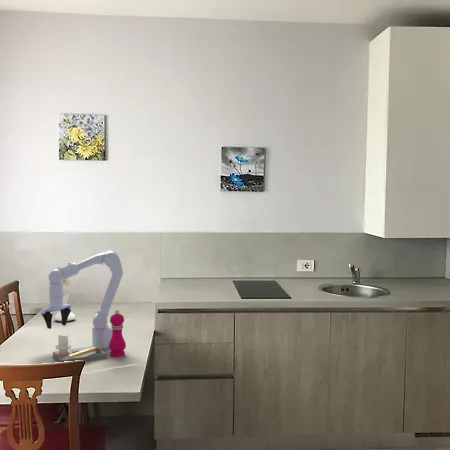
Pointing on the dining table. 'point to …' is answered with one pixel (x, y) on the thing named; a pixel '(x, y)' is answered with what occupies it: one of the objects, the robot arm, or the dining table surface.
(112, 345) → the pepper mill
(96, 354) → the socket block
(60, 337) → the plug
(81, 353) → the bar
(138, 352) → the dining table surface
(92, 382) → the dining table surface
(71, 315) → the flower in vase
